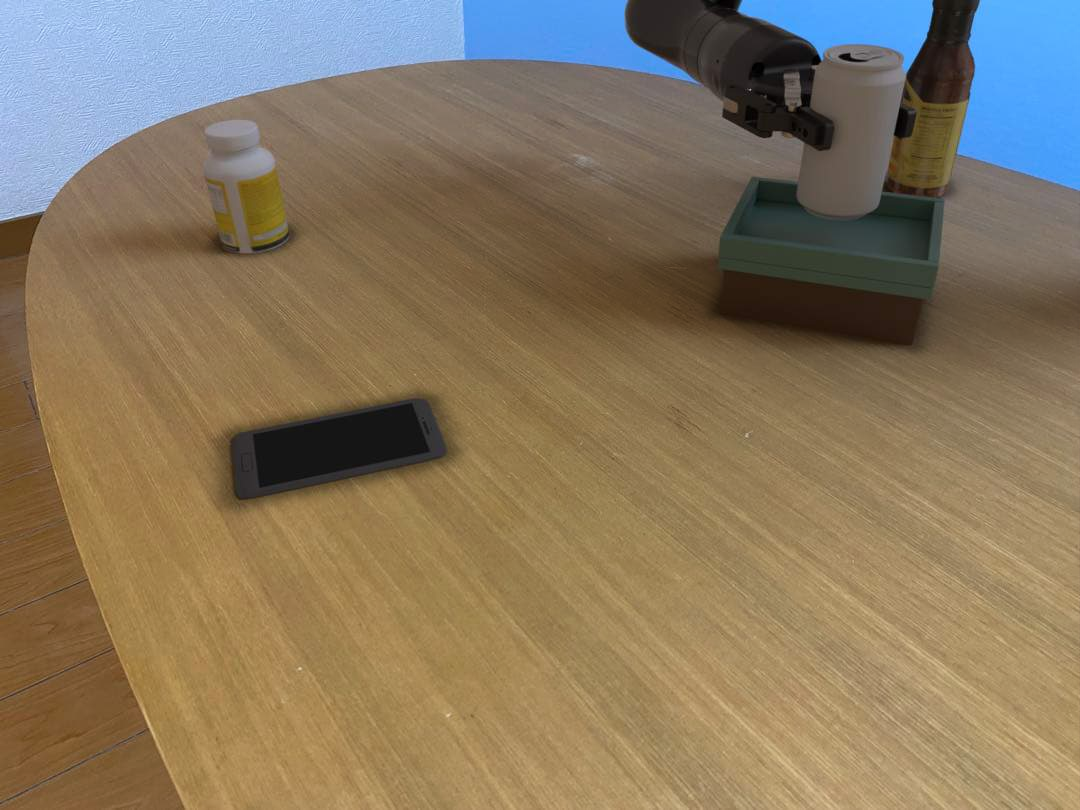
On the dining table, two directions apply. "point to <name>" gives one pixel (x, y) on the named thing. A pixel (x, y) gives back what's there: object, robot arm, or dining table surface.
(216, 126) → the pill bottle
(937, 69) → the sauce bottle
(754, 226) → the storage box
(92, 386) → the dining table surface
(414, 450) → the cell phone
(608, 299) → the dining table surface
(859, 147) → the beverage can
